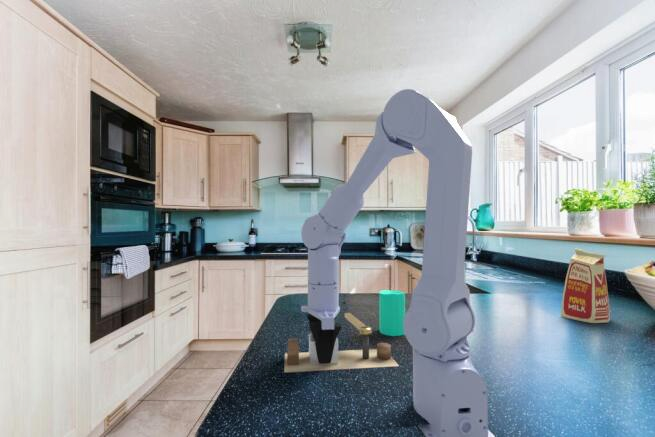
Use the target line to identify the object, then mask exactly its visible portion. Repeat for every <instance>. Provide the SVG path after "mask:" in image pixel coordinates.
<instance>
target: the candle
mask: <svg viewBox="0 0 655 437" xmlns="http://www.w3.org/2000/svg"><path fill="white" fill-rule="evenodd" d="M378 297H379V298H378V302H379V303H378V310H379V313H378V316H379V319H378V320H379V321H378V322H379V325H378V326H379V329H378V332H380V334H382V335H385V336H391V337H400V336H405V333H404V329H403V320H404V316H405V314H406V292H402V291H400V290H389V289H382V290H380V291H379V292H378Z"/></svg>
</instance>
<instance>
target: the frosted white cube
mask: <svg viewBox="0 0 655 437" xmlns="http://www.w3.org/2000/svg"><path fill="white" fill-rule="evenodd" d="M338 351H339V339H338V337H337V338H336V341H335V345H334V350H333V355H332V359H331V363H326V364H319V362H318V358H317V352H316V345H315V339H314V336H313V334H312V333H308V352H309V361H310V366H313V365H332V364H338Z"/></svg>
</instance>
